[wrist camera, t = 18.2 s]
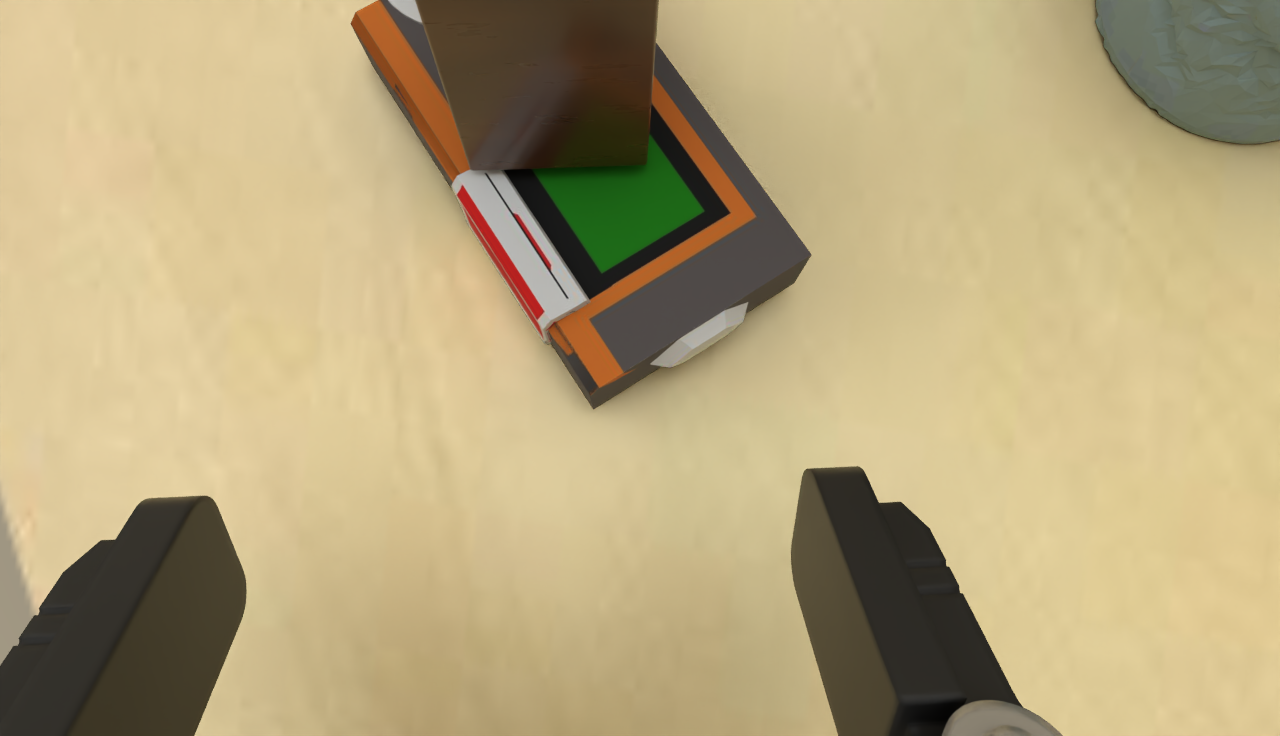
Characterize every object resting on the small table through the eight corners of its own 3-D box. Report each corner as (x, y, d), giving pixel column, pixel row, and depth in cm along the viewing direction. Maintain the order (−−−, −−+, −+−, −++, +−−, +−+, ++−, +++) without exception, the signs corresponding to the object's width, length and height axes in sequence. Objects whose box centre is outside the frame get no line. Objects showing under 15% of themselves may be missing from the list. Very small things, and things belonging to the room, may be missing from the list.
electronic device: (510, -165, 22) (823, 261, 20) (523, -84, 25) (798, 298, 23) (294, -56, 22) (591, 406, 19) (332, 16, 24) (596, 426, 22)
